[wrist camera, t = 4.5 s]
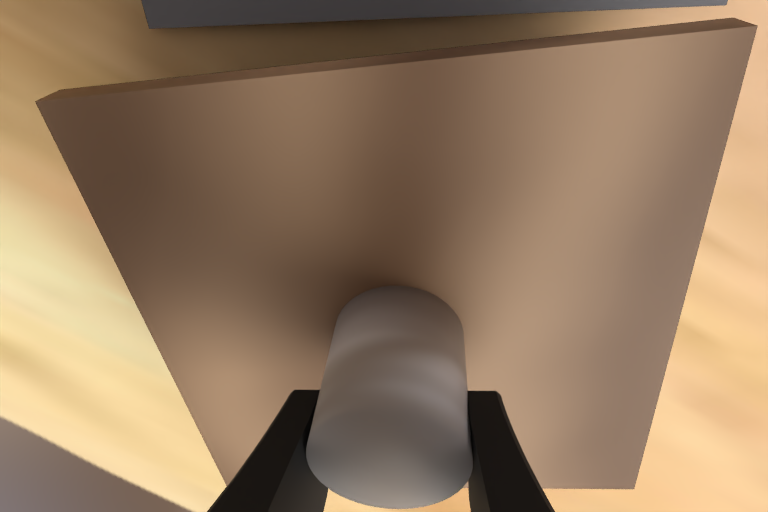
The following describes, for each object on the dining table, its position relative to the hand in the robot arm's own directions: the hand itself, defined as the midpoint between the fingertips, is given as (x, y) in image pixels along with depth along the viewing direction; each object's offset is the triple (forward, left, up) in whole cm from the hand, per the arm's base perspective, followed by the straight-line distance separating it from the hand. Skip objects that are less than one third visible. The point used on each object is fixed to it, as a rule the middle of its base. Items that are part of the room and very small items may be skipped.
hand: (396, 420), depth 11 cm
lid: (0, -1, -3) cm, 3 cm away
